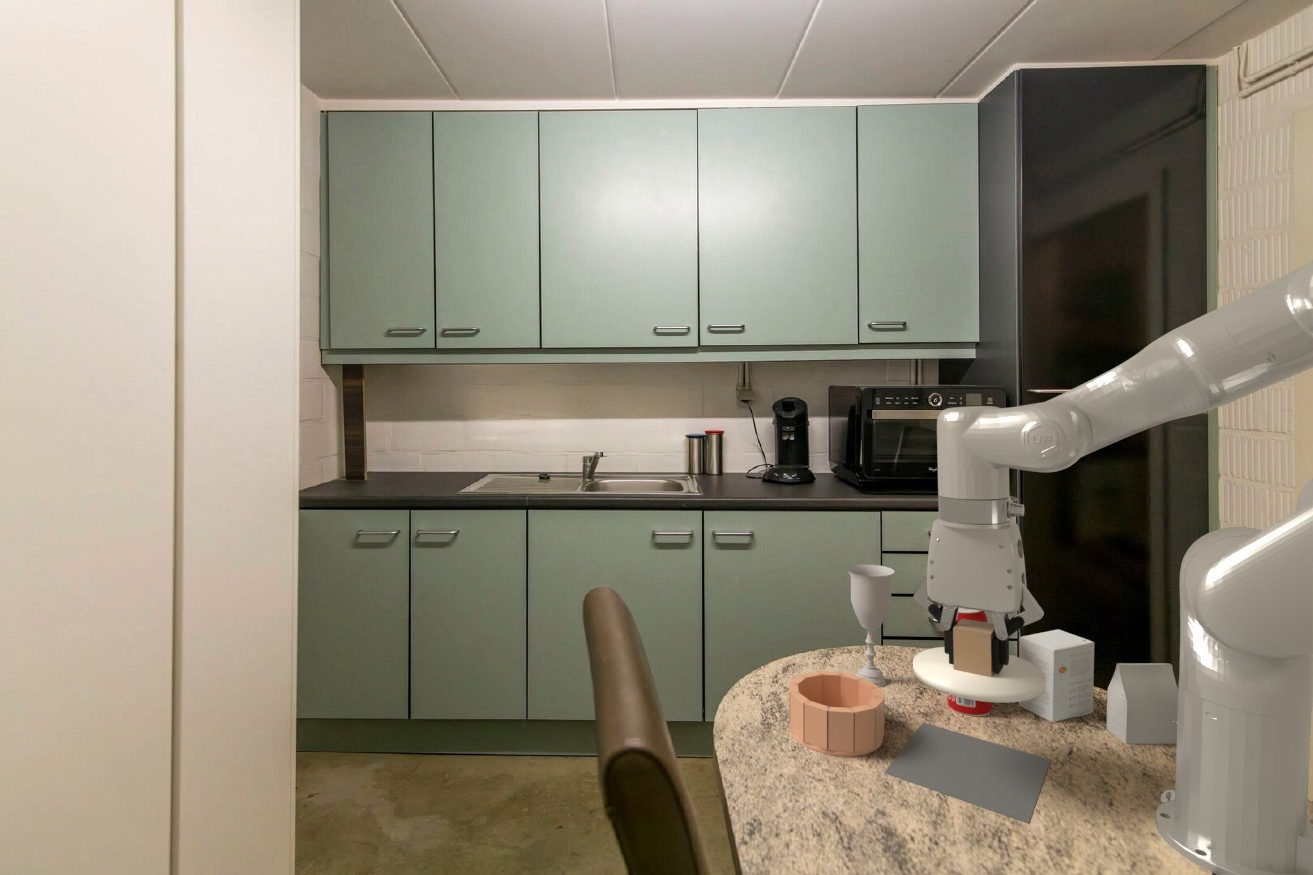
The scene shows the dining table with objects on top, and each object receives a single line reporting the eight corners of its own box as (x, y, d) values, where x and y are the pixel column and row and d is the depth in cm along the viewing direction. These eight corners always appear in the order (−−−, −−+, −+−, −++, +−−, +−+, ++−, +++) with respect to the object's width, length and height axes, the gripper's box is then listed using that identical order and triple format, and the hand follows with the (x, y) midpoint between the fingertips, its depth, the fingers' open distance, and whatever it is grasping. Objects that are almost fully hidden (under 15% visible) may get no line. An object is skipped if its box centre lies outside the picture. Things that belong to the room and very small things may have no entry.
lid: (1054, 669, 77) (1053, 620, 77) (1034, 714, 67) (1033, 657, 66) (932, 646, 86) (931, 602, 86) (896, 682, 75) (895, 632, 75)
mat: (1050, 762, 79) (1050, 759, 79) (1028, 826, 67) (1028, 822, 67) (923, 725, 88) (923, 722, 88) (884, 775, 76) (884, 772, 76)
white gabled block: (1180, 746, 82) (1182, 669, 81) (1125, 746, 82) (1128, 670, 81) (1158, 731, 85) (1160, 658, 85) (1106, 732, 86) (1108, 658, 85)
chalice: (867, 670, 106) (867, 562, 105) (903, 684, 100) (904, 571, 99) (837, 681, 102) (837, 569, 101) (873, 697, 96) (874, 578, 95)
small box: (1057, 697, 96) (1058, 628, 95) (1094, 714, 90) (1096, 641, 90) (1016, 707, 93) (1018, 635, 92) (1052, 725, 88) (1054, 649, 87)
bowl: (895, 729, 87) (896, 686, 86) (862, 770, 77) (862, 721, 77) (813, 704, 94) (813, 664, 94) (773, 738, 85) (773, 694, 85)
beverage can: (997, 721, 89) (999, 614, 88) (947, 717, 90) (948, 611, 89) (984, 701, 95) (986, 600, 94) (937, 697, 96) (938, 598, 95)
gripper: (1061, 511, 73) (1063, 670, 74) (910, 503, 84) (913, 641, 84) (1051, 521, 67) (1053, 693, 68) (890, 511, 78) (894, 660, 79)
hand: (976, 663), depth 76 cm, fingers closed on lid, 4 cm apart
